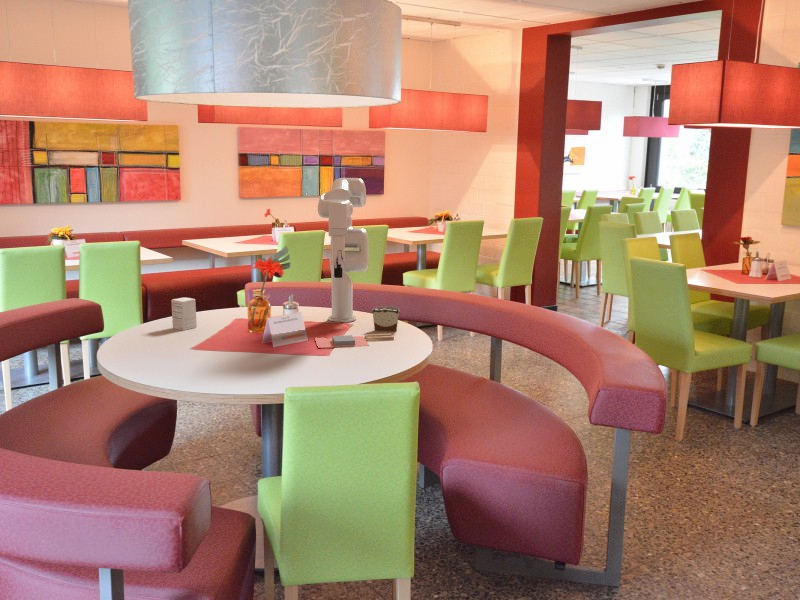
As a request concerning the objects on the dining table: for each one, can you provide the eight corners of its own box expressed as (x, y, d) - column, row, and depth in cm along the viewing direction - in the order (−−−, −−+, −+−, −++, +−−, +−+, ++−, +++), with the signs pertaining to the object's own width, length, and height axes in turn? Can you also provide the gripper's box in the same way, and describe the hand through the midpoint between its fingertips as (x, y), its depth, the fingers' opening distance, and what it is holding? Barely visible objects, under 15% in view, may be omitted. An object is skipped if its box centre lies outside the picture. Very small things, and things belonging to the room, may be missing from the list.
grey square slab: (334, 341, 300) (355, 340, 301) (332, 336, 308) (351, 335, 310) (334, 346, 300) (355, 345, 302) (332, 340, 309) (351, 340, 310)
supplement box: (186, 325, 336) (184, 296, 334) (197, 327, 332) (196, 298, 329) (172, 328, 330) (170, 299, 328) (183, 330, 326) (182, 301, 323)
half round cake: (401, 329, 333) (401, 306, 331) (400, 332, 327) (400, 309, 325) (373, 328, 334) (373, 305, 332) (371, 331, 328) (371, 308, 326)
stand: (364, 338, 316) (364, 334, 316) (390, 337, 318) (391, 333, 318) (367, 341, 310) (367, 338, 309) (393, 340, 312) (394, 337, 312)
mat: (314, 339, 314) (314, 337, 313) (362, 337, 318) (362, 336, 317) (318, 348, 298) (318, 347, 298) (369, 346, 302) (369, 345, 302)
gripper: (326, 230, 315) (326, 274, 318) (330, 234, 300) (331, 280, 304) (344, 230, 316) (344, 274, 320) (349, 234, 302) (349, 280, 305)
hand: (338, 277), depth 312 cm, fingers closed
